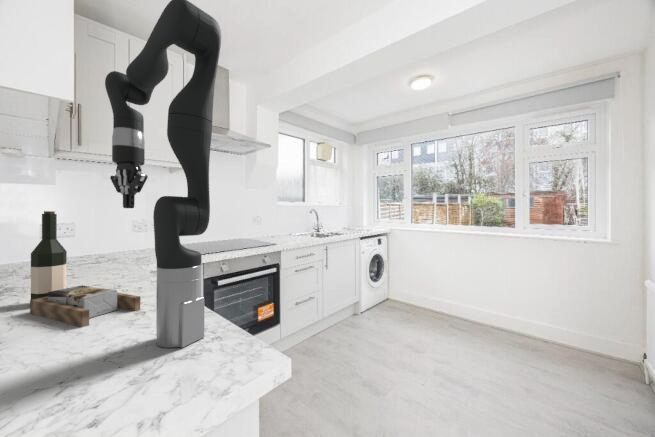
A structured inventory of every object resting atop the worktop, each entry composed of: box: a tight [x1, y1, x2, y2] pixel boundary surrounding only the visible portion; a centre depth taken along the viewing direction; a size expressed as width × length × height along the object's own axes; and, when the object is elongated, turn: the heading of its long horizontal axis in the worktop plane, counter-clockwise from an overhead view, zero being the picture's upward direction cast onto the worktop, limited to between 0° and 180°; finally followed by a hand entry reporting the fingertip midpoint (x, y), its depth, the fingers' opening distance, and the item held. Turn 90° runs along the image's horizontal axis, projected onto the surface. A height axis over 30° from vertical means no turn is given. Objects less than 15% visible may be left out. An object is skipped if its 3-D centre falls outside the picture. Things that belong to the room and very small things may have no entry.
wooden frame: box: [29, 292, 141, 328], centre depth 84 cm, size 26×15×4 cm, turn 68°
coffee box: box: [48, 285, 118, 319], centre depth 83 cm, size 9×6×16 cm
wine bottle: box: [30, 210, 68, 300], centre depth 91 cm, size 8×8×30 cm
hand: (128, 208), depth 80 cm, fingers closed
